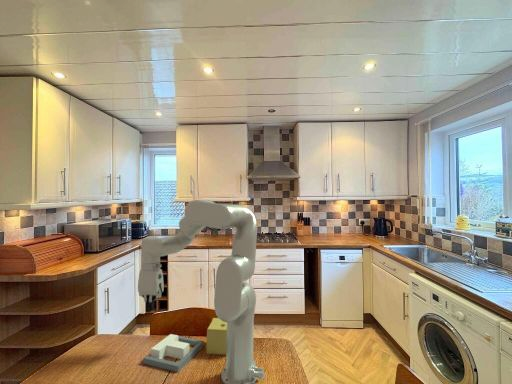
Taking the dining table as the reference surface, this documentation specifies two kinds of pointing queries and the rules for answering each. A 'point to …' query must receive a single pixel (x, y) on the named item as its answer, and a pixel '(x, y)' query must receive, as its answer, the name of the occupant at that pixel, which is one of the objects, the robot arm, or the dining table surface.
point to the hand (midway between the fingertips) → (149, 310)
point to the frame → (182, 362)
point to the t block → (170, 348)
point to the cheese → (216, 337)
